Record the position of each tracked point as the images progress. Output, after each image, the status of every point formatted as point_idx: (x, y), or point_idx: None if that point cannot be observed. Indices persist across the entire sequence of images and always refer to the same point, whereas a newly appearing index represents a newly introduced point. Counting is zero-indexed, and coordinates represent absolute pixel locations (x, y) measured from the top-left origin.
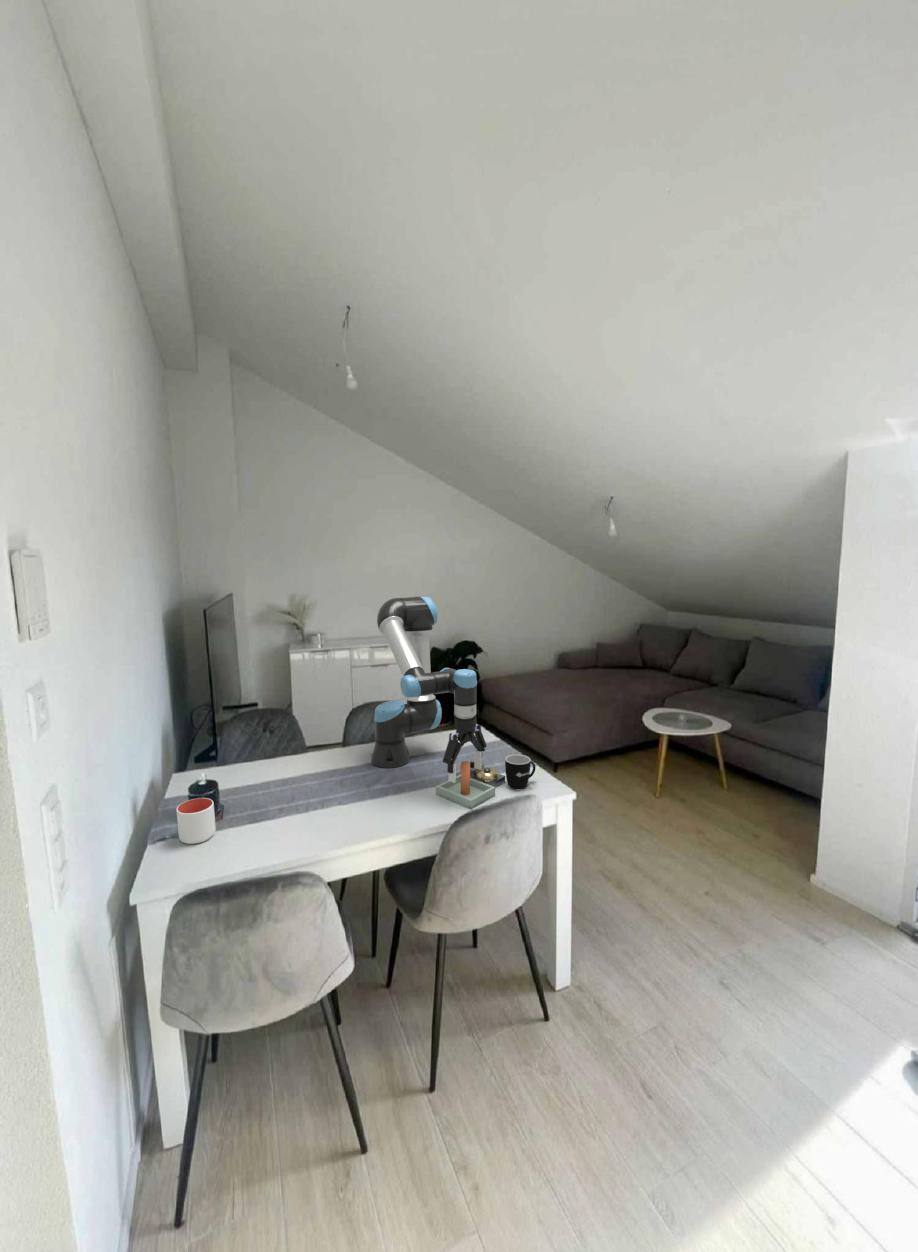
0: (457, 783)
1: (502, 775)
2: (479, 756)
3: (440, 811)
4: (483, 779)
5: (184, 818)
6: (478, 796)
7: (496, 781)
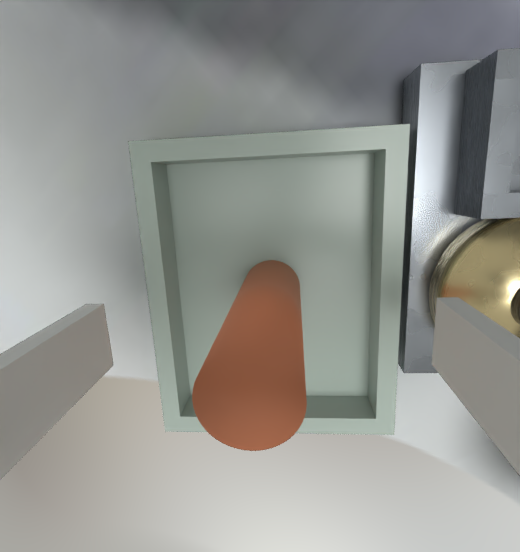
0: (338, 156)
1: None
2: (505, 444)
3: (55, 308)
4: None
5: None
6: None
7: None
